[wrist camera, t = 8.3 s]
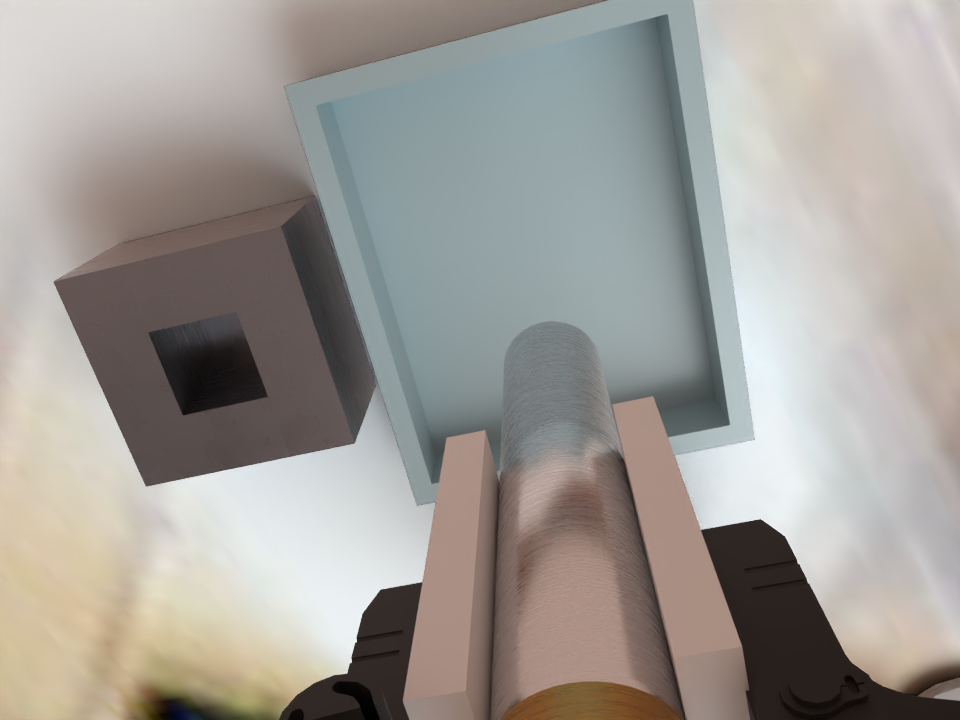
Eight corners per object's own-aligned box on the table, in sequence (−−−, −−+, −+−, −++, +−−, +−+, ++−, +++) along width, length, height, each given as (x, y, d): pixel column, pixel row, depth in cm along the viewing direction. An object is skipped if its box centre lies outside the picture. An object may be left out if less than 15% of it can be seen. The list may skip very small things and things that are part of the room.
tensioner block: (194, 424, 35) (146, 486, 31) (119, 243, 32) (53, 281, 28) (375, 385, 34) (354, 443, 30) (314, 195, 31) (280, 226, 27)
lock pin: (514, 419, 22) (510, 1031, 9) (491, 331, 21) (447, 864, 8) (610, 400, 21) (756, 1005, 8) (591, 309, 20) (721, 828, 7)
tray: (425, 465, 36) (417, 505, 33) (306, 79, 30) (284, 86, 27) (733, 403, 34) (754, 439, 31) (671, -17, 28) (690, -22, 25)
